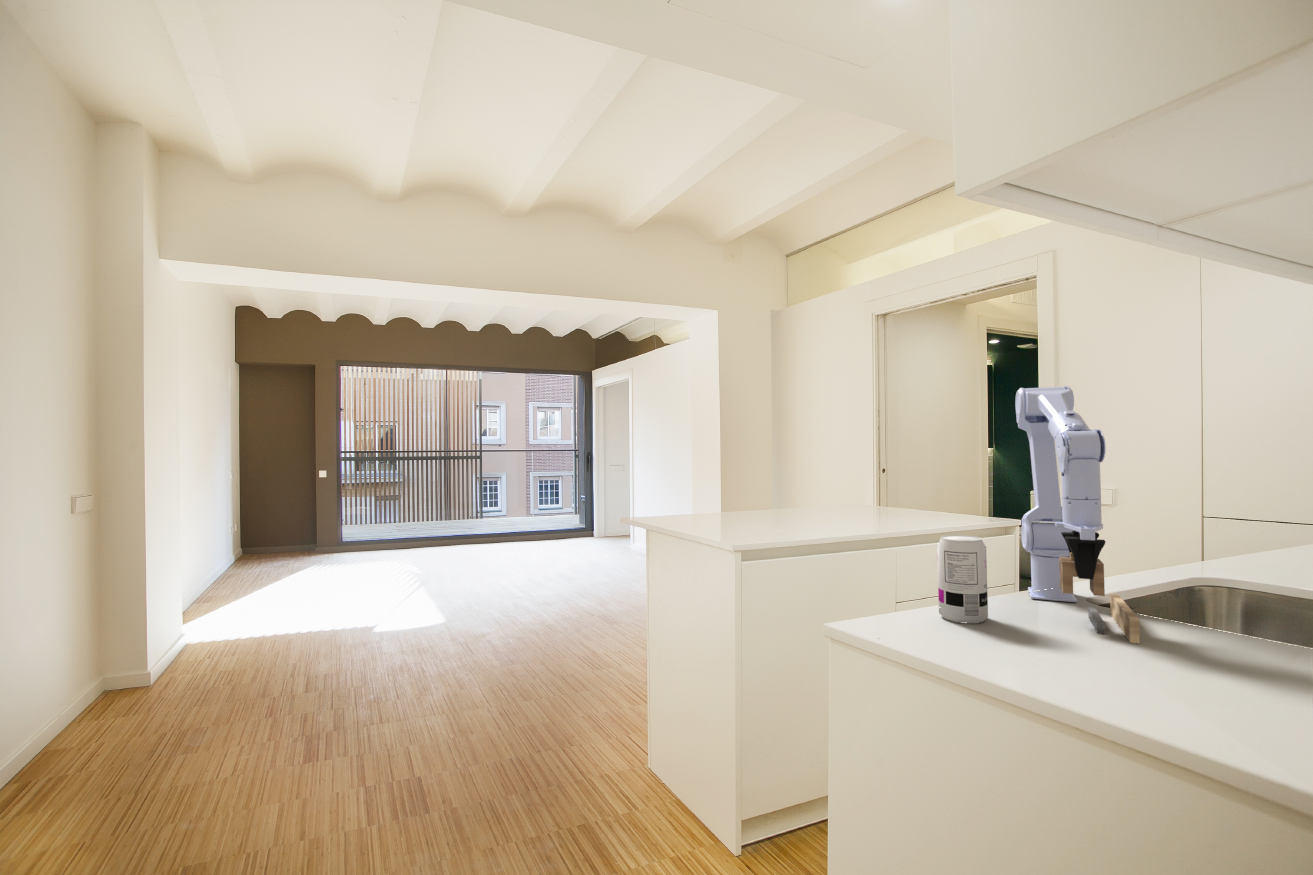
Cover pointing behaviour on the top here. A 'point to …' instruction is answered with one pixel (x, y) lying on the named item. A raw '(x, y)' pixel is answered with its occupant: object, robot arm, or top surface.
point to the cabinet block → (1070, 571)
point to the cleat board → (1118, 618)
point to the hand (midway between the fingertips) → (1083, 575)
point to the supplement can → (962, 578)
